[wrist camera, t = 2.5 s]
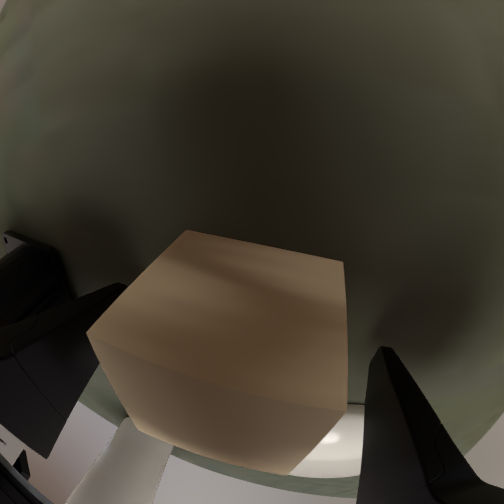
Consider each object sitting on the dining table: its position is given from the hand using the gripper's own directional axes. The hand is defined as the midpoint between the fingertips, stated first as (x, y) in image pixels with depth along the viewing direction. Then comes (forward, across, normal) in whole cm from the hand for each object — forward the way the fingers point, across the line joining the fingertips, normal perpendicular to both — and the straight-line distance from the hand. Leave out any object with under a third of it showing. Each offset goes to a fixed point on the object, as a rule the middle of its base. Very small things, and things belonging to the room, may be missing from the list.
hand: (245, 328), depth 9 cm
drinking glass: (+1, +8, +19) cm, 21 cm away
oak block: (+1, 0, 0) cm, 1 cm away
